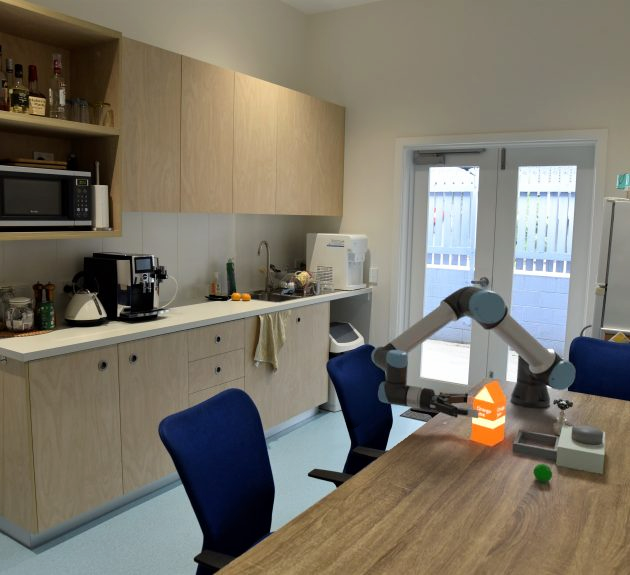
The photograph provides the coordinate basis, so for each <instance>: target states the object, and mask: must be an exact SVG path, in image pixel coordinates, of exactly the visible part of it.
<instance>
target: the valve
mask: <svg viewBox="0 0 630 575" xmlns="http://www.w3.org/2000/svg"><path fill="white" fill-rule="evenodd" d="M552 404H553V405H556V406H557V408H558V409H559V410H560V411H559V412H558V413H559V414H558V415H559V416H558V417H557V419H556V422H554V423H553V430H554V431H555V433H556V434H557V435H558V436H560V434H561V430H562V425H566V423H567V419H566V418H565V417H566V412H565V411H566V410H569V409H570V408H573V406H574V402H572V401H570V400H567V399H566V400H564V399H561V398H560V399H553V403H552Z"/></svg>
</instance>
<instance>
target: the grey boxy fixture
mask: <svg viewBox="0 0 630 575" xmlns="http://www.w3.org/2000/svg"><path fill="white" fill-rule="evenodd" d="M522 441H527V442H533V443H538V444H544V445H549V446H554V447H553V448H554V449H553V448H549V447H542V446H538V445H537V446H536V445H532V444H525V443H522ZM605 447H606V431H603V430H602V429H599V428H596V427H594V426H588V425H574V426H573V425H567V424H565V425H562V430H561V434H560V435H558V436H557V435H552V434H548V433H547V434H546V433H541V432H535V431H530V430H523V429H518V432H517V434H516V437H515V438H514V441H513V443H512V453H515V454H519V455H525V456H528V457H529V456H531V457H534V458H541V459H546V460H551V461H554V462H555V461H556V462H555V465H556V466H558V467H564V468H569V469H573V470H578V471H583V470H584V472H588V473H589V472H591V473H594V472H595V473H594V474H599V473H600V474H599V475H604V464H605V463H604V462H605V453H606V452H605V451H606V450H605V449H606V448H605Z"/></svg>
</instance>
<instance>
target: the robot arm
mask: <svg viewBox="0 0 630 575" xmlns="http://www.w3.org/2000/svg"><path fill="white" fill-rule="evenodd" d="M505 303H506V302H505V301H504V298H503V297H502V296H501V295H500V294H499V293H497V292H495V291H493V290H491V289H484V288H480V287H476V286H472V285H469V286H464V287H461V288H459V289H457V290H455V291H454V292H452V293H451V294H450V295H449V294H448V296H446V297H445V298H444V299H442V300H441V301H440V303H439V306H437V307H436V308H435V309H433V310H432V311H431V312H429V313H428V314H426V315H425V316H424V317H422V318H421V319H420V320H418V321H416V323H414V324H413V325H412V326H410V327H409V328H408V329H406V330H405V331H403V332H402V333H400V334H399V335H398V336H397V337H395V338H394V339H392V340H391V341H390V342H388V343H387V344H386V345H384V346H383V345H382V346H377V347H375V348H374V349H373V350H372V351H371V354H370V355H371V356H370V357H371V360H372V362H373V363H374V365H375V366H377V367H378V368H380V369H381V370H382V371H384V372H385V381H381V383H380V384H379V386H378V391H377V396H378V399H379V401H380V402H381V403H385V404H390V405H395V406H402V407H408V408H411V409H412V410H414V409H421V410H423V411H436V412H439V413H442V414H444V415H447V416H450V417H454V418H458V416H461V417H468V418H472V417H473V418H478V415H479V410H477V409H473V408H471V407H466V406H465V407H464V406H455V405H453V404H467V405H472V406H473V403H474V398H475V396H471V395H469V393H468V392H467V393H466V392H465V393H455V392H453V393H452V392H451V393H450V392H439V394H436V393H435V390H434V389H432V388H428V387H427V388H426V387H423V388H422V386H421V387H420V386H414V385H407V377H408V364H409V360H408V354H409V353H410V352H412V351H414V350H415V349H417V347H418V346H421V345H422V344H423V343H424V342H425V341H428V339H430V338H431V337H432V336H434V335H436V334H437V332H439V331H441V330H442V329H443V328H445V327H446V326H447V325H449V324H450V323H451V322H458V321H459V320H460V319H462V318H465V317H468V318H470V319H472V320H474V321H475V322H476V323H477V324H478V325H479V326H481V327H482V328H483V330H485V331H492V332H493V333H494V334H496V335H497V336H498V337H499V339H501V340H502V341H503V342H505V344H507V346H509V347H510V348H511V349H512V350H513V352H515V353H516V354H517V358H518V359H517V360H518V361H517V370H516V371H517V374H516V375H517V376H516V383H515V386H514V388H513V390H512V392H511V396H510V397H511V398H510V401H511V402H513V403H514V404H516V405H519V406H522V407H526V408H534V409H539V408H542V409H543V408H548V407H549V406H550V405H551V397H550V394H549V390H548V387H549V388H551V389H553V390H555V391H556V390H558V391H562V390H566V389H568V388H569V387H570V386H571V385H572V384H573V383H574V381H575V378H576V373H577V372H576V368H575V366H574V365H573V363H572V362H570V361H569V360H566V359H564V358H562V357H561V356H560V355H559V354H558V352H557V353H556V351H554V350H553V348H547V347H545V346H543V344H541V343H540V342H539V341H538V340H537V339H536V338H535V337H534V336H533V335H532V334H531V333H530V332H528V331H527V330H526V329H525V328H524V327H523V326H522V325H521V324H520V323H519V322H518V321H517V320H516V319H514V318H513V316H512V315H511V314H509V307H508V306H507V305H506V304H505Z"/></svg>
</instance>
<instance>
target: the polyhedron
mask: <svg viewBox="0 0 630 575" xmlns="http://www.w3.org/2000/svg"><path fill="white" fill-rule="evenodd" d="M532 474H533V476H534V478H535V480H537V481H539V482H541V483H548V482H549V481H550V480H551V479H552V476H553V472H552V470H551V468H550V467H549V466H548V465H546V464H545V463H541V464H537V465H536V466H535V467H534V469H533V473H532Z"/></svg>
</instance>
